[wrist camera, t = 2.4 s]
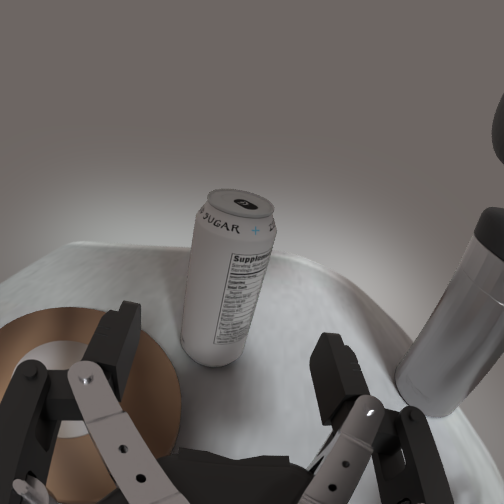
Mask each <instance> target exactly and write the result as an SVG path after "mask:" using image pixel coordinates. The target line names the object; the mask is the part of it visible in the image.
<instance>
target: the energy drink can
mask: <svg viewBox="0 0 504 504" xmlns="http://www.w3.org/2000/svg"><path fill="white" fill-rule="evenodd" d="M207 199H208V200H207V202H206V203H205V204H204V205H203V207H201V209H200V210H199V211H198V213H197V214H196V219H195V226H194V232H193V239H192V246H191V253H190V261H189V269H188V277H187V285H186V293H185V302H184V311H183V320H182V330H181V344H182V347H183V349H184V350H185V351H186V353H187V354H188V355H189V356H190V357H191V358H192V359H193V360H194V361H195V362H197V363H199V364H201V365H204V366H208V367H221V366H225V365H227V364H229V363H231V362H233V361H235V360H236V359H237V358H239V356H240V355H241V354H242V351H243V349H244V345H245V342H246V339H247V335H248V332H249V328H250V325H251V321H252V318H253V315H254V311H255V308H256V304H257V301H258V297H259V294H260V290H261V287H262V283H263V280H264V276H265V273H266V269H267V265H268V262H269V258H270V255H271V251H272V248H273V244H274V240H275V237H276V233H277V230H276V226H275V222H274V218H273V215H272V213H273V212H274V206H273V204H272V203H271V202H270V201H268V200H267V199H265V198H263V197H261V196H259V195H256V194H254V193H250V192H247V191H242V190H236V189H218V190H213V191H211V192H209V194H208V196H207Z"/></svg>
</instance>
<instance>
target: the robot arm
mask: <svg viewBox="0 0 504 504" xmlns="http://www.w3.org/2000/svg"><path fill="white" fill-rule="evenodd" d="M492 143H493V148H494V151H495V153H496V155H497V157H498V158H499V160H500V161H501V162H502V163H503V164H504V94H503V96H502V98H501V100H500V102H499V104H498V107H497V110H496V113H495V116H494V120H493V125H492ZM140 333H141V305H140V304H138V303H133V302H129V301H123V302H122V304H121V306H120V309H119V311H114V310H109V311H108V312H107V313H106V314H104V315H103V316H102V317H101V319H100V321H99V323H98V327H97V328H96V330H95V332H94V334H93V336H92V338H91V340H90V342H89V344H88V347H87V349H86V351H85V353H84V355H83V358H82V359H81V361H79V362H77V363H75V364H73V365H72V366H71V367H70V369H66V370H47V368H46V366H45V365H44V364H43V363H42V362H40V361H38V360H35V359H29V360H25V361H23V362H21V363H20V364H19V365H18V366H17V368H16V370H15V372H14V374H13V376H12V378H11V380H10V382H9V385H8V387H7V389H6V391H5V394H4V396H3V398H2V401H1V403H0V504H58V502H57V499H56V497H55V496H54V494H53V493H52V492H51V491H50V490H49V489H48V488H47V487H46V483H47V478H48V473H49V469H50V464H51V460H52V456H53V452H54V448H55V444H56V440H57V436H58V433H59V429H60V426H61V422H62V421H83V422H84V424H85V427H86V429H87V431H88V433H89V435H90V437H91V440H92V442H93V444H94V446H95V448H96V450H97V452H98V454H99V456H100V458H101V460H102V462H103V464H104V466H105V468H106V470H107V472H108V473H109V475H110V477H111V479H112V481H113V482H114V484H115V486H116V487H117V488H116V489H114V490H113V491H112V492H110V493H109V494H108V495H106V496H105V497H103V498H102V499H101V500H99V501H98V502H97V503H95V504H347V503H348V502H349V500H350V498H351V496H352V494H353V492H354V490H355V488H356V486H357V484H358V482H359V480H360V478H361V476H362V474H363V472H364V470H365V468H366V466H367V464H368V462H369V460H370V457H371V455H372V460H373V464H374V469H375V473H376V478H377V483H378V488H379V493H380V498H381V503H382V504H454V501H453V497H452V494H451V491H450V487H449V484H448V481H447V477H446V474H445V471H444V468H443V465H442V462H441V459H440V456H439V453H438V450H437V447H436V444H435V441H434V438H433V436H432V433H431V430H430V427H429V425H428V422H427V419H426V417H425V415H426V416H430V417H436V418H441V417H445V416H447V415H449V414H451V413H452V412H453V411H454V410H455V409H456V408H457V407H458V406H459V405H460V404H461V403H462V402H463V400H464V399H465V398H466V397H467V396H468V395H469V394H470V393H471V392H472V391H473V390H474V389H475V387H476V386H477V385H478V384H479V383H480V381H481V380H482V379H483V378H484V377H485V375H486V374H487V373H488V372H489V371H490V370H491V368H492V367H493V366H494V364H495V363H496V362H497V360H498V359H499V358H500V357H501V355H502V354H503V353H504V209H503V208H497V207H489V208H487V209H485V210H484V211H483V213H482V214H481V217H480V219H479V221H478V223H477V225H476V228H475V230H474V233H473V235H472V237H471V240H470V242H469V244H468V246H467V248H466V250H465V253H464V255H463V257H462V259H461V261H460V263H459V265H458V267H457V269H456V271H455V273H454V275H453V277H452V279H451V281H450V283H449V284H448V286H447V288H446V290H445V292H444V294H443V296H442V297H441V299H440V301H439V303H438V305H437V306H436V308H435V309H434V311H433V313H432V314H431V316H430V318H429V319H428V321H427V323H426V324H425V326H424V327H423V329H422V331H421V332H420V334H419V336H418V337H417V338H416V340H415V341H414V343H413V344H412V346H411V347H410V349H409V350H408V352H407V353H406V355H405V356H404V358H403V359H402V361H401V362H400V363H399V365H398V367H397V369H396V372H395V381H396V385H397V388H398V390H399V392H400V394H401V396H402V397H403V398H404V400H405V401H406V402H407V403H408V404H409V405H410V406H406V407H404V408H403V409H402V410H401V411H400V412H397V411H393V410H389V409H385V408H384V406H383V404H382V403H381V401H380V400H378V399H377V398H376V397H374V396H371V395H370V392H369V390H368V387H367V384H366V381H365V379H364V376H363V373H362V371H361V368H360V365H359V364H358V360H357V358H356V355H355V353H354V352H353V351H352V350H351V348H350V347H349V346H347V345H344V343H343V340H342V338H341V335H340V334H335V333H325V332H324V333H322V334H321V336H320V338H319V340H318V342H317V344H316V346H315V349H314V351H313V353H312V355H311V357H310V364H309V365H310V371H311V376H312V380H313V385H314V389H315V393H316V398H317V402H318V407H319V411H320V416H321V420H322V425H323V426H328V425H332V429H333V430H332V431H331V433H330V434H329V436H328V437H327V439H326V441H325V442H324V444H323V445H322V447H321V448H320V450H319V452H318V453H317V455H316V456H315V458H314V459H313V461H312V462H311V463H310V465H309V466H308V467H307V468H306V469H305V468H303V467H301V466H298V465H296V464H293V463H290V462H289V456H265V455H263V456H258V457H252V458H246V459H240V460H233V459H229V458H226V457H223V456H220V455H217V454H213V453H210V452H207V451H200V450H192V449H185V448H179V454H172V455H167V456H163V457H160V458H157V459H155V458H154V456H153V454H152V453H151V451H150V450H149V448H148V447H147V445H146V443H145V442H144V440H143V439H142V437H141V435H140V434H139V432H138V430H137V429H136V427H135V425H134V424H133V422H132V420H131V418H130V417H129V415H128V414H127V412H126V411H123V410H122V408H121V406H120V405H119V403H118V402H121V401H122V397H123V394H124V390H125V387H126V383H127V380H128V377H129V373H130V370H131V367H132V363H133V360H134V357H135V354H136V350H137V347H138V344H139V340H140ZM401 449H402V450H403V453H404V457H405V461H406V465H405V462H404V458H403V454H402V451H401Z"/></svg>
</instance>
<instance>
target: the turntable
mask: <svg viewBox="0 0 504 504" xmlns="http://www.w3.org/2000/svg"><path fill="white" fill-rule="evenodd" d="M104 314H106V312H102V311H98V310H94V309H87V308H77V307H60V308H51V309H45V310H40V311H36V312H33V313H30V314H27V315H24V316H22V317H20V318H17V319H15V320H13V321H12V322H10V323H8V324H6V325H5V326H4V327H2V328H1V329H0V403H1V401H2V398H3V396H4V394H5V391H6V389H7V387H8V385H9V382H10V380H11V378H12V376H13V374H14V372H15V370H16V368H17V366H18V365H19V364H20V363H21V362H23V361H25V360H29V359H35V360H38V361H40V362H42V363H43V364H44V365H45V366H46V368H47V370H66V369H70V367H71V366H72V365H73V364H75V363H77V362H79V361H81V359H82V358H83V355H84V353H85V351H86V349H87V347H88V344H89V342H90V340H91V338H92V336H93V334H94V332H95V330H96V328H97V327H98V323H99V321H100V319H101V317H102V316H103V315H104ZM118 403H119V405H120V406H121V408H122V410H123V411H126V412H127V414H128V415H129V417H130V418H131V420H132V422H133V424H134V425H135V427H136V429H137V430H138V432H139V434H140V435H141V437H142V439H143V440H144V442H145V443H146V445H147V447H148V448H149V450H150V451H151V453H152V454H153V456H154V458H155V459H157V458H160V457H163V456H167V455H170V453H171V451H172V449H173V447H174V445H175V442H176V439H177V435H178V432H179V425H180V417H181V392H180V386H179V382H178V378H177V375H176V372H175V370H174V368H173V366H172V364H171V362H170V360H169V358H168V357H167V355H166V354H165V352H164V351H163V350H162V348H161V347H160V346H159V345H158V344H157V343H156V342H155V341H154V340H153V339H152V338H151V337H150V336H149V335H148V334H147V333H145V332H144V331H143V330H141V333H140V340H139V344H138V347H137V350H136V354H135V357H134V360H133V363H132V367H131V370H130V373H129V377H128V380H127V383H126V387H125V390H124V394H123V397H122V401H121V402H118ZM46 487H47V488H48V489H49V490H50V491H51V492H52V493H53V494H54V496H55V497H56V499H57V502H58V503H61V504H95V503H97V502H98V501H99V500H101V499H102V498H103V497H105V496H106V495H108V494H109V493H110V492H112V491H113V490H114V489H116V488H117V487H116V486H115V484H114V482H113V481H112V479H111V477H110V475H109V473H108V472H107V470H106V468H105V466H104V464H103V462H102V460H101V458H100V456H99V454H98V452H97V450H96V448H95V446H94V444H93V442H92V440H91V437H90V435H89V433H88V431H87V429H86V427H85V424H84V422H83V421H62V422H61V426H60V429H59V433H58V436H57V440H56V444H55V448H54V452H53V456H52V460H51V464H50V469H49V473H48V478H47V483H46Z"/></svg>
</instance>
